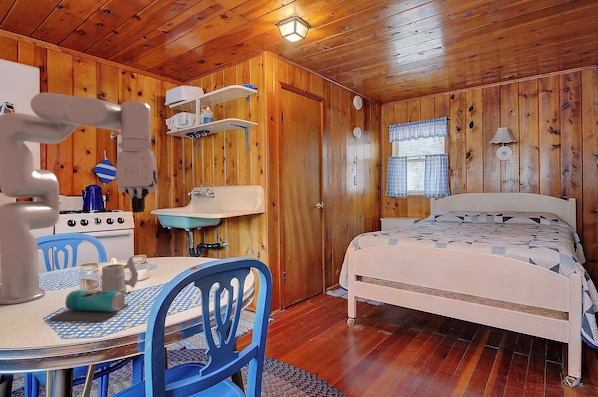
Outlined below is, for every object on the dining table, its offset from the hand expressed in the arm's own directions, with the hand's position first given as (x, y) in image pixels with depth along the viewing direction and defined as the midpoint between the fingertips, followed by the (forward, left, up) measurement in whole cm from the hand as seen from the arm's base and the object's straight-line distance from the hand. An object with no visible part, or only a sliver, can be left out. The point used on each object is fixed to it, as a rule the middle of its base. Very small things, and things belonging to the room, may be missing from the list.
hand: (138, 212), depth 96 cm
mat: (-15, -1, -29) cm, 33 cm away
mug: (-17, +16, -29) cm, 38 cm away
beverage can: (-6, -1, -26) cm, 26 cm away
